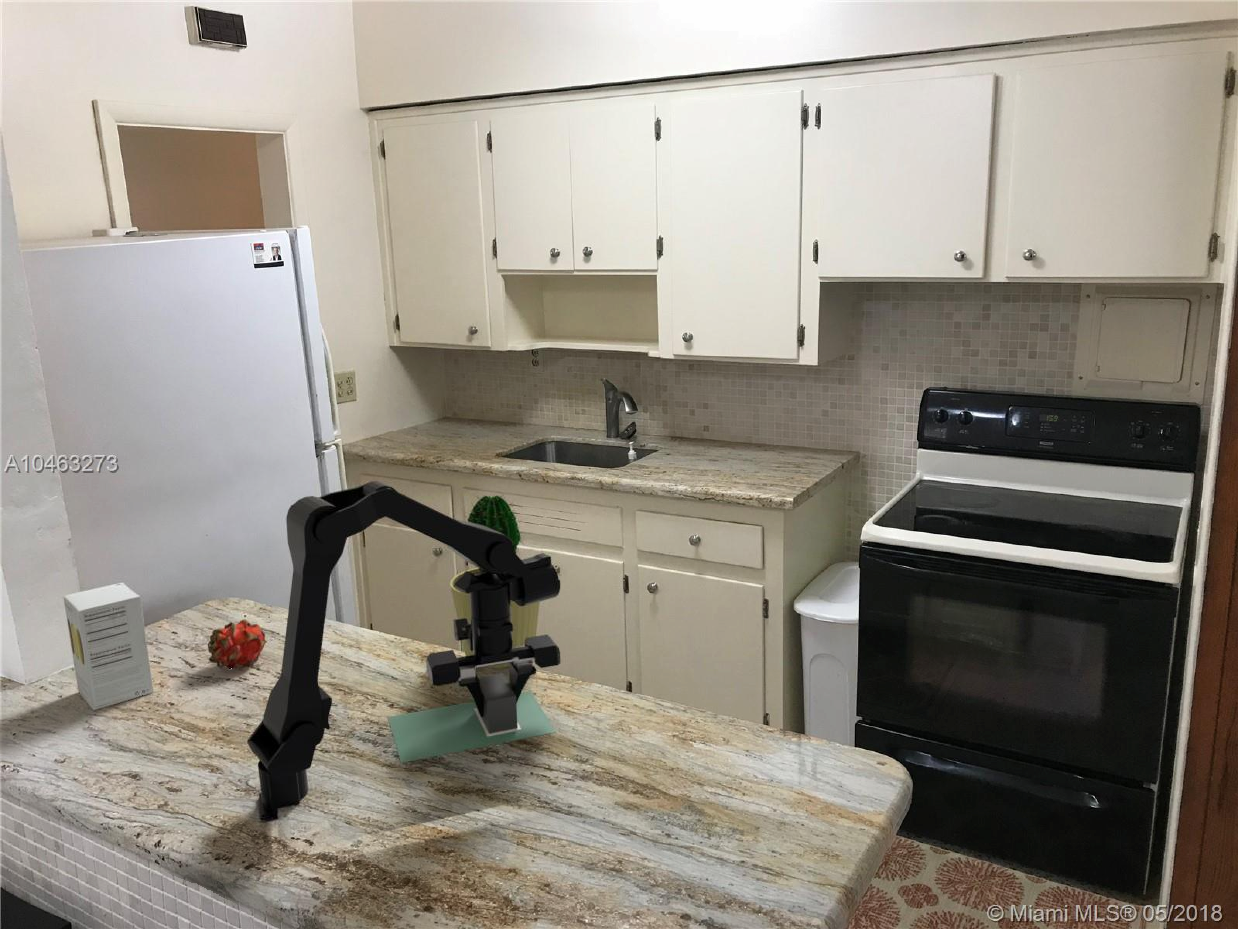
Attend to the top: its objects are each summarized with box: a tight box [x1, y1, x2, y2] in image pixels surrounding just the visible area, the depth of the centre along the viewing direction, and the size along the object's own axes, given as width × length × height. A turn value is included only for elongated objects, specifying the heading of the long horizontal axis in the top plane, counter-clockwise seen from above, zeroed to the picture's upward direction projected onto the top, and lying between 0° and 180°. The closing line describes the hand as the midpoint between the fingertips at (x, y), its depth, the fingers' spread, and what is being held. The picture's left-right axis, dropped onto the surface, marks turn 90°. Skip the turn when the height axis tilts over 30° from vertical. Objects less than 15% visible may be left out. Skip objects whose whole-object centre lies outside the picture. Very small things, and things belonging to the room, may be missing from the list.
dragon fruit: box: [207, 619, 268, 670], centre depth 168 cm, size 8×8×12 cm
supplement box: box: [62, 582, 154, 711], centre depth 157 cm, size 10×9×17 cm
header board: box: [387, 690, 557, 764], centre depth 142 cm, size 14×22×4 cm, turn 110°
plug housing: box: [477, 672, 518, 733], centre depth 144 cm, size 11×4×5 cm, turn 20°
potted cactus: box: [449, 494, 540, 669], centre depth 164 cm, size 15×15×30 cm
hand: (496, 713), depth 143 cm, fingers closed on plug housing, 4 cm apart
